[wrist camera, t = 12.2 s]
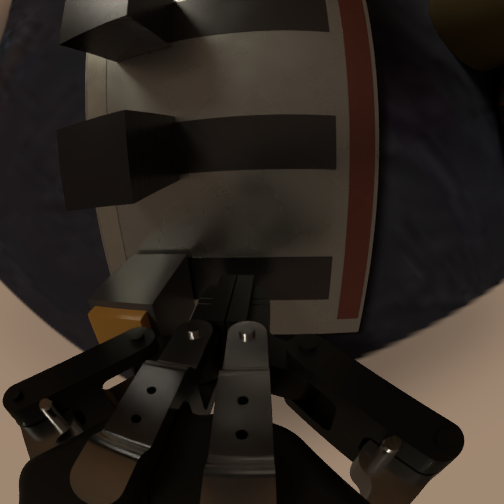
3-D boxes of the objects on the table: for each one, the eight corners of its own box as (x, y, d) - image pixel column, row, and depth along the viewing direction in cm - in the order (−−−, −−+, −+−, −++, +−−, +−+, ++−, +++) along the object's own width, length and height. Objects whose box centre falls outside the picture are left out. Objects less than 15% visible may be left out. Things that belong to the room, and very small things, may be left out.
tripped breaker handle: (187, 254, 13) (145, 314, 9) (195, 306, 14) (165, 375, 10) (133, 254, 14) (79, 307, 9) (144, 303, 15) (103, 364, 10)
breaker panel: (349, -18, 9) (382, -79, 3) (351, 312, 16) (377, 390, 11) (109, 10, 10) (44, -22, 4) (138, 308, 18) (93, 373, 12)
